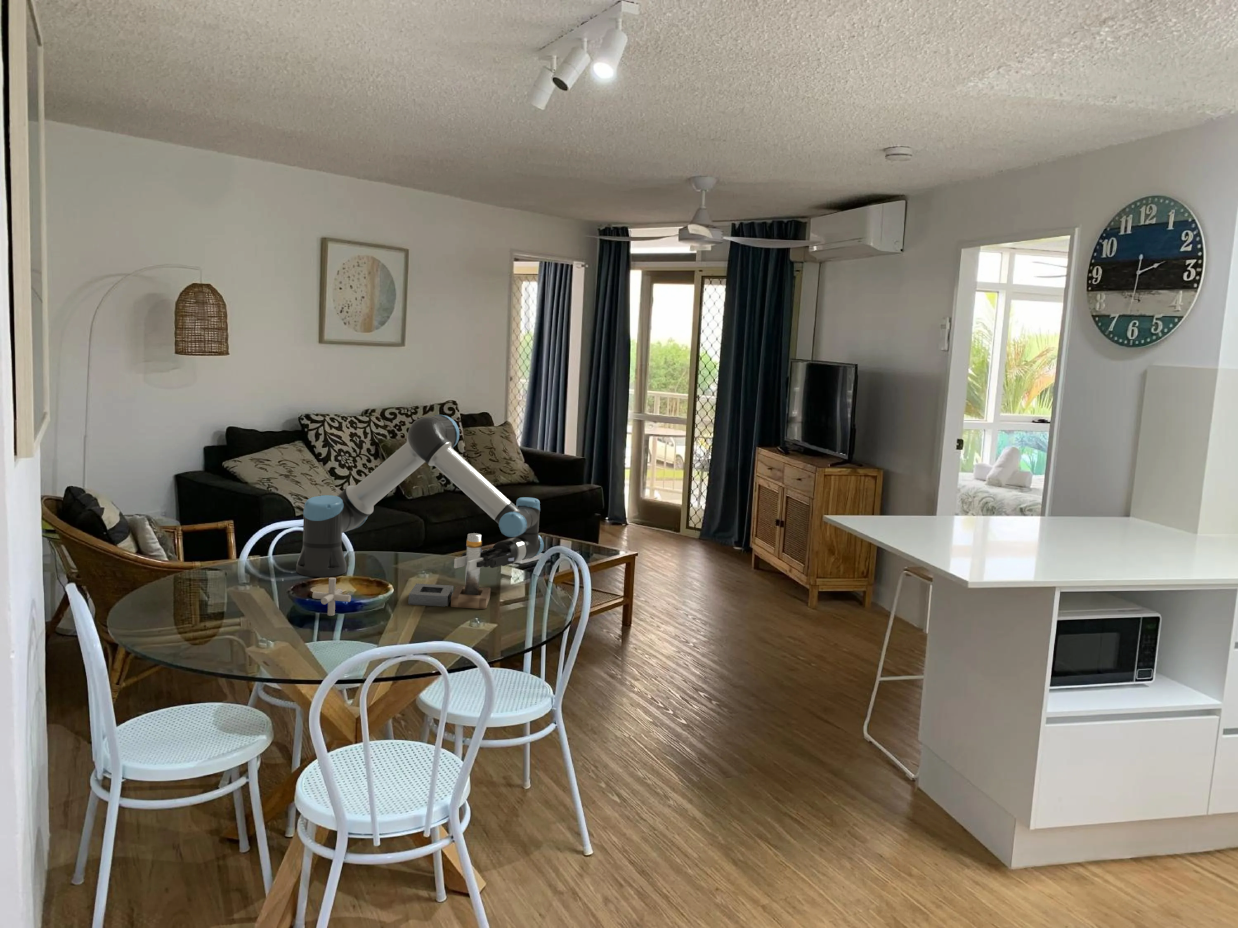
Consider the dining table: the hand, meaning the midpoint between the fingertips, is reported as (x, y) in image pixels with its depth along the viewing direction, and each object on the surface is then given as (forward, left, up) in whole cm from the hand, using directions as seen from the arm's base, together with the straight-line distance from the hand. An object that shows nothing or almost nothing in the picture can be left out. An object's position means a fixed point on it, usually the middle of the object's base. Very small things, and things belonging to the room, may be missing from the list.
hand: (461, 564), depth 261 cm
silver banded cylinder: (+3, +5, -10) cm, 11 cm away
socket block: (-9, +5, -12) cm, 16 cm away
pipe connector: (-32, -15, -12) cm, 38 cm away
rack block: (+3, +5, -12) cm, 13 cm away
